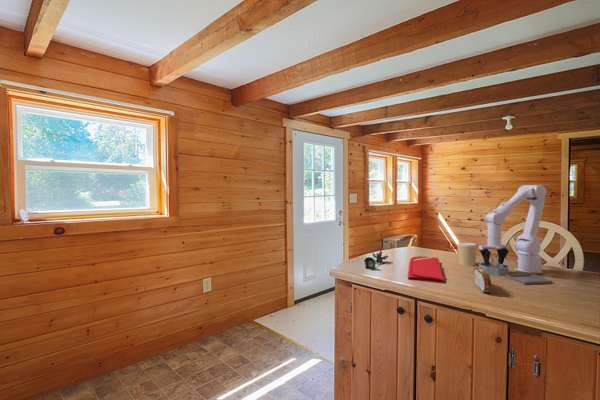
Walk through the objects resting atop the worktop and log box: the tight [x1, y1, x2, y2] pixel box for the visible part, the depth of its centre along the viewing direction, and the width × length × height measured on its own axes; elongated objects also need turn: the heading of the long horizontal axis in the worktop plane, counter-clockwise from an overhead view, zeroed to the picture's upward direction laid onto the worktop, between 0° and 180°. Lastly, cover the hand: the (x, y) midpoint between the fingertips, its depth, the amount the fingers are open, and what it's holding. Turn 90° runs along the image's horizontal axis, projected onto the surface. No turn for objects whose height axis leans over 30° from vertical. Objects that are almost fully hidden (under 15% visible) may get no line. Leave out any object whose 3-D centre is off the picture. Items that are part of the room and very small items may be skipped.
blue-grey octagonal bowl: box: [478, 261, 510, 277], centre depth 152 cm, size 12×12×4 cm
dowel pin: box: [490, 255, 498, 268], centre depth 152 cm, size 2×2×8 cm
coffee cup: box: [457, 242, 478, 267], centre depth 167 cm, size 9×9×12 cm
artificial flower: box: [363, 249, 389, 271], centre depth 169 cm, size 9×22×10 cm, turn 142°
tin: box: [474, 267, 493, 294], centre depth 128 cm, size 15×3×8 cm, turn 164°
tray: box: [504, 273, 553, 286], centre depth 139 cm, size 13×11×2 cm
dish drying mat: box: [407, 256, 445, 284], centre depth 158 cm, size 16×41×4 cm, turn 159°
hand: (493, 263), depth 152 cm, fingers open, 7 cm apart
